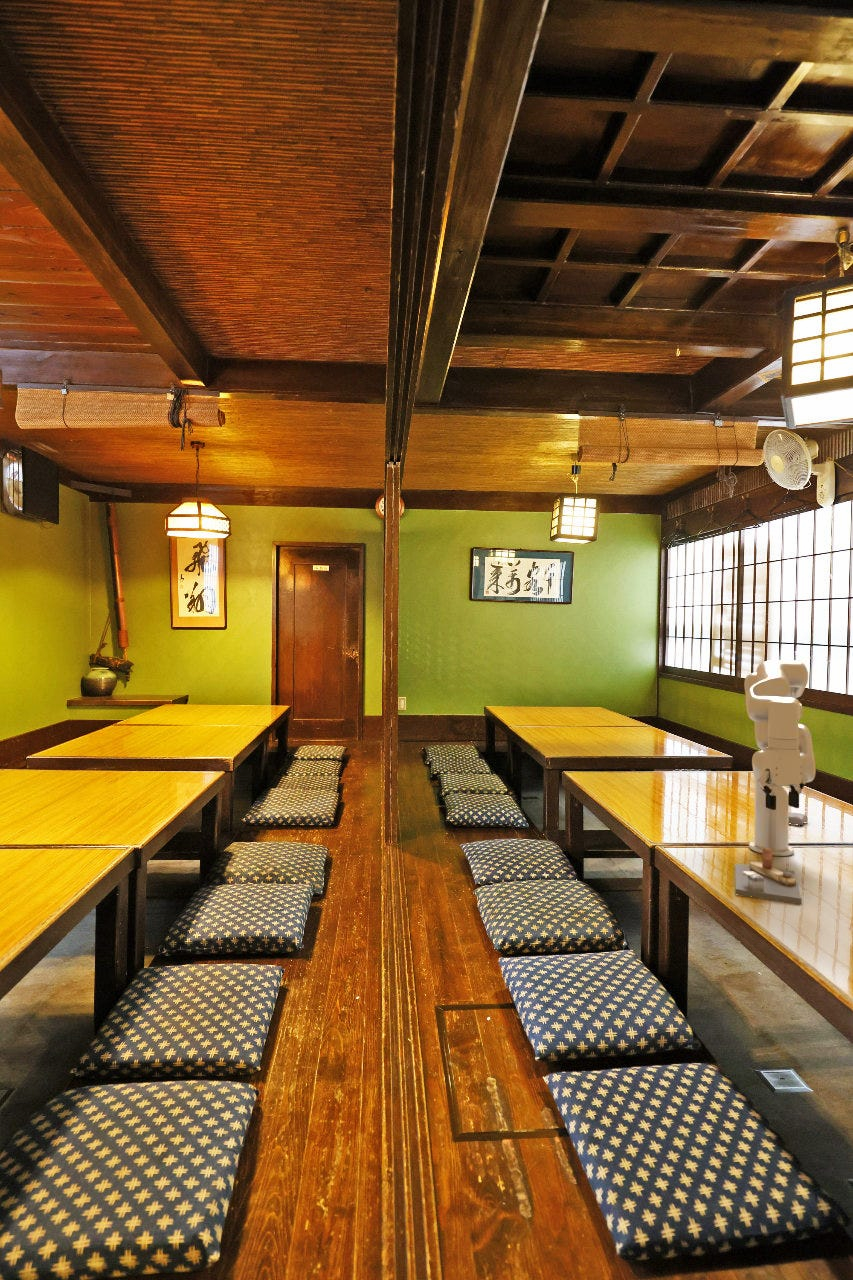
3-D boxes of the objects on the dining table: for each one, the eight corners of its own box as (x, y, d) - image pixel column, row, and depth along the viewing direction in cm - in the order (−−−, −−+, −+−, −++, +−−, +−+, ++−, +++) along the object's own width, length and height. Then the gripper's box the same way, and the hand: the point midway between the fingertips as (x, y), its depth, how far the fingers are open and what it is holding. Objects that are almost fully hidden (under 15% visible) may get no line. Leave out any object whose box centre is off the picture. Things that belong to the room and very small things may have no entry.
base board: (735, 868, 196) (735, 863, 196) (793, 876, 190) (793, 870, 190) (735, 894, 176) (735, 889, 176) (801, 904, 170) (801, 898, 170)
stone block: (775, 820, 255) (765, 820, 248) (776, 807, 255) (767, 807, 248) (809, 828, 246) (801, 828, 239) (811, 815, 247) (802, 814, 240)
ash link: (799, 884, 179) (799, 858, 179) (786, 885, 178) (786, 860, 178) (759, 866, 192) (759, 843, 192) (747, 868, 191) (748, 844, 191)
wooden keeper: (753, 883, 180) (753, 871, 180) (763, 890, 175) (763, 877, 175) (742, 883, 180) (742, 871, 180) (752, 890, 175) (752, 878, 175)
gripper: (797, 741, 194) (796, 802, 194) (747, 743, 189) (746, 806, 189) (819, 745, 187) (818, 809, 187) (767, 747, 182) (766, 813, 182)
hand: (782, 807), depth 188 cm, fingers open, 7 cm apart
